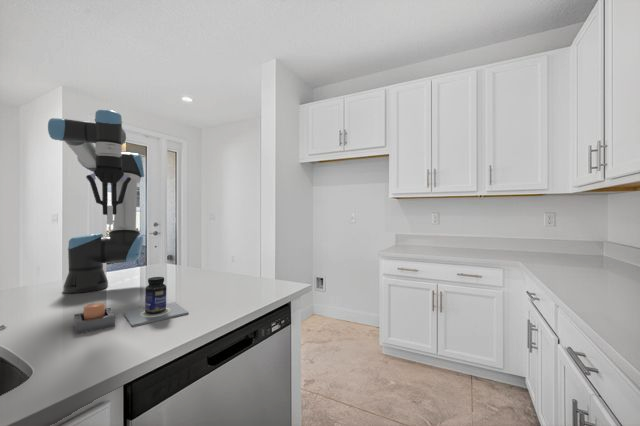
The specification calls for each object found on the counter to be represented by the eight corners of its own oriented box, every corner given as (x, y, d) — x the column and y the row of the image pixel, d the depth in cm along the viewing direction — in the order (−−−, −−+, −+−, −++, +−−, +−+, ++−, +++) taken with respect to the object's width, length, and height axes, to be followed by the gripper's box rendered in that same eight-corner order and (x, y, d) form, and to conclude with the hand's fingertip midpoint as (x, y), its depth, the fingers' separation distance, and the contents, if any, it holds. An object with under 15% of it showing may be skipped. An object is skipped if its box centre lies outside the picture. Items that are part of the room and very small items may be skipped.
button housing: (74, 324, 89) (73, 314, 89) (110, 317, 95) (110, 307, 95) (76, 334, 82) (76, 323, 82) (115, 325, 89) (115, 315, 88)
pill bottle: (156, 315, 95) (156, 280, 95) (140, 313, 96) (140, 279, 96) (170, 309, 101) (170, 276, 101) (155, 307, 102) (155, 275, 102)
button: (83, 322, 89) (82, 305, 89) (103, 317, 92) (103, 301, 92) (84, 326, 85) (84, 309, 85) (106, 322, 89) (105, 305, 89)
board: (123, 314, 98) (123, 312, 98) (175, 303, 109) (175, 301, 109) (132, 326, 88) (132, 324, 88) (188, 313, 98) (188, 311, 98)
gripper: (86, 152, 96) (87, 225, 97) (133, 157, 105) (133, 224, 106) (84, 155, 102) (85, 224, 102) (128, 159, 111) (129, 223, 111)
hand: (109, 224), depth 104 cm, fingers closed
